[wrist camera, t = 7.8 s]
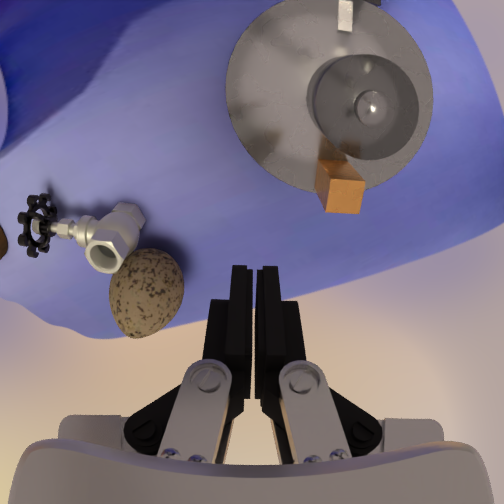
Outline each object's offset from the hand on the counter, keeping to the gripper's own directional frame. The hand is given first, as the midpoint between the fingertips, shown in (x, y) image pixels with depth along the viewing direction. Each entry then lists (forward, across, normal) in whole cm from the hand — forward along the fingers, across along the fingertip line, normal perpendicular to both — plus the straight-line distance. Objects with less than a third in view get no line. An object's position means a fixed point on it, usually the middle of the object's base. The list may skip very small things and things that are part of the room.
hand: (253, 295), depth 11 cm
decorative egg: (+16, +10, +10) cm, 21 cm away
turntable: (+14, -6, -7) cm, 17 cm away
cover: (+13, -7, -6) cm, 16 cm away
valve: (+16, +16, +5) cm, 23 cm away
